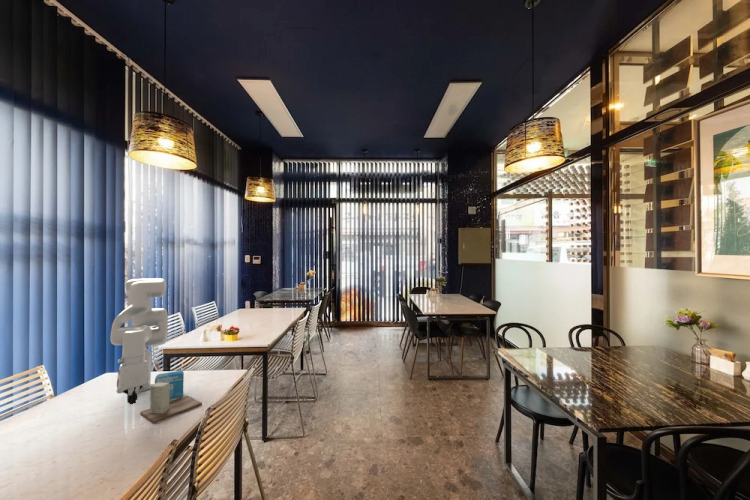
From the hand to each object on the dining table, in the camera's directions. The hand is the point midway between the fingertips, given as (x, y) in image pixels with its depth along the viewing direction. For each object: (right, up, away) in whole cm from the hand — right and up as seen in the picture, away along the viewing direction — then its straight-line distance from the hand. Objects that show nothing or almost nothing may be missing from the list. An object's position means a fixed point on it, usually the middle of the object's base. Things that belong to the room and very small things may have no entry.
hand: (132, 403), depth 128 cm
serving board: (+8, -10, +13) cm, 18 cm away
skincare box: (+5, -8, +9) cm, 13 cm away
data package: (-1, -10, +25) cm, 27 cm away
